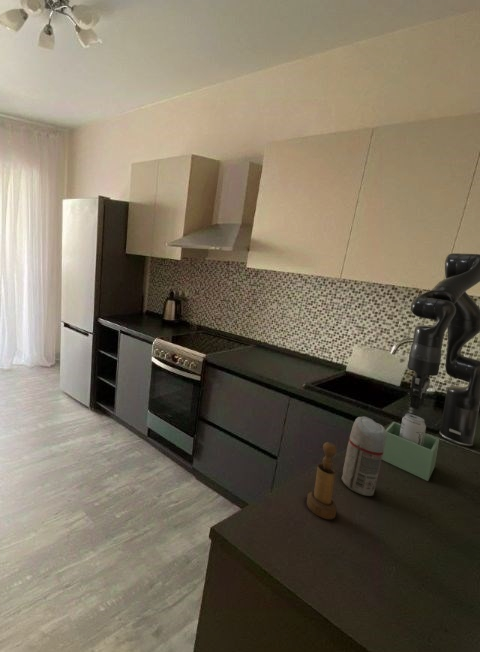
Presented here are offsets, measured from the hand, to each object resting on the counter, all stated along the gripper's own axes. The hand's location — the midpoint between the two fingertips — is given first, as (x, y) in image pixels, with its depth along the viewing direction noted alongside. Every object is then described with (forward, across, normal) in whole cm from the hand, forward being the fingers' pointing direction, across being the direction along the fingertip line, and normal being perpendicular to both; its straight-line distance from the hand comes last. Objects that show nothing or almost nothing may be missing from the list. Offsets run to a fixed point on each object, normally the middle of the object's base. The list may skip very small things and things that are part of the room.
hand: (416, 405), depth 110 cm
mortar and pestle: (+20, -50, +9) cm, 55 cm away
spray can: (+20, -30, +6) cm, 37 cm away
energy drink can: (+20, 0, 0) cm, 20 cm away
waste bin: (+20, 0, 0) cm, 20 cm away
